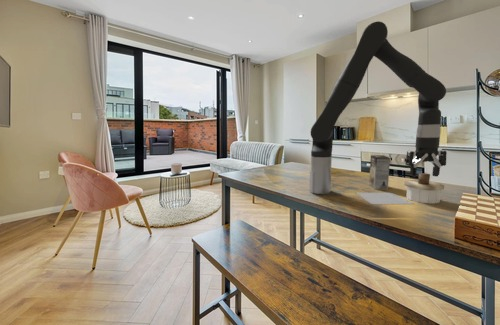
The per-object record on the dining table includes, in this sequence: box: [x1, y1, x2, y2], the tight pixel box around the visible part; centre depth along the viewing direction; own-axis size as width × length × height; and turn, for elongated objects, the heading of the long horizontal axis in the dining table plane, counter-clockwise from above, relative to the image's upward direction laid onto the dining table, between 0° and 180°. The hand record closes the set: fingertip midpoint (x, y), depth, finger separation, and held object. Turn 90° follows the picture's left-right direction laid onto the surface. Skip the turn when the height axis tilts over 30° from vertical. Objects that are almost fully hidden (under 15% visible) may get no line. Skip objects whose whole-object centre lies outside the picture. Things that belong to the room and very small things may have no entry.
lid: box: [404, 172, 445, 191], centre depth 94 cm, size 13×13×5 cm
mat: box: [355, 192, 415, 205], centre depth 98 cm, size 16×16×1 cm
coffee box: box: [368, 154, 391, 191], centre depth 115 cm, size 9×6×16 cm
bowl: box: [405, 186, 442, 204], centre depth 95 cm, size 11×11×6 cm
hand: (424, 176), depth 94 cm, fingers open, 8 cm apart
